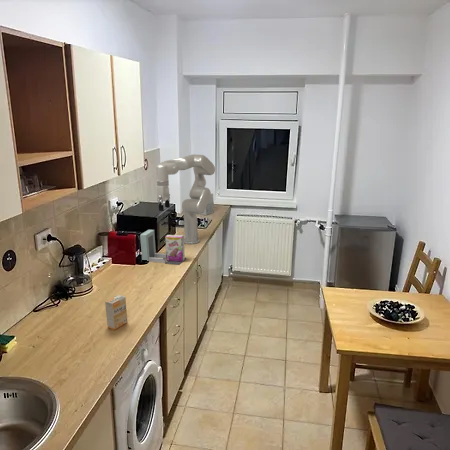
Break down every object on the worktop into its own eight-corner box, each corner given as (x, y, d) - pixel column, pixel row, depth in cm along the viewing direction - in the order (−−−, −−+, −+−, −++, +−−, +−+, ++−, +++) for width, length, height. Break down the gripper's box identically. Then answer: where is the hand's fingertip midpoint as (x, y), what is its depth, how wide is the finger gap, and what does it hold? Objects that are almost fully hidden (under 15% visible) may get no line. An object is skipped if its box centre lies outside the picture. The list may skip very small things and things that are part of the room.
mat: (172, 257, 271) (172, 256, 271) (186, 258, 269) (186, 257, 269) (165, 263, 260) (165, 263, 260) (179, 265, 258) (179, 264, 258)
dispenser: (150, 255, 276) (148, 229, 271) (171, 257, 271) (170, 231, 267) (142, 261, 265) (140, 234, 260) (164, 263, 260) (162, 236, 255)
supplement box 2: (214, 212, 386) (213, 193, 381) (206, 215, 375) (205, 196, 370) (199, 210, 394) (198, 191, 389) (190, 213, 384) (190, 194, 379)
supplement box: (114, 330, 183) (112, 303, 179) (107, 327, 185) (104, 301, 182) (128, 322, 189) (125, 296, 186) (120, 319, 192) (118, 294, 188)
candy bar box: (166, 261, 263) (164, 236, 259) (168, 258, 268) (166, 234, 263) (183, 262, 261) (181, 237, 257) (185, 259, 266) (183, 235, 262)
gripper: (163, 181, 277) (164, 205, 281) (151, 185, 261) (153, 212, 265) (173, 181, 275) (174, 206, 279) (162, 186, 259) (164, 212, 263)
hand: (164, 209), depth 272 cm, fingers open, 9 cm apart
